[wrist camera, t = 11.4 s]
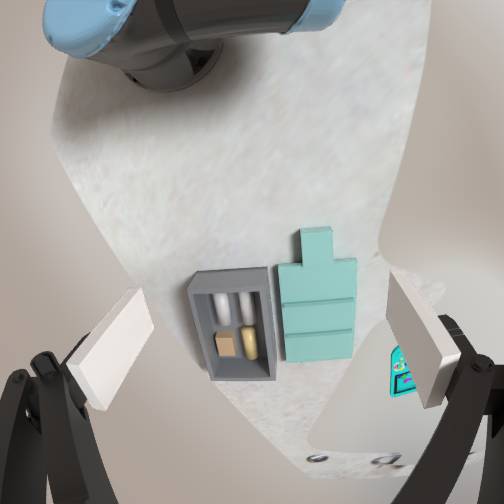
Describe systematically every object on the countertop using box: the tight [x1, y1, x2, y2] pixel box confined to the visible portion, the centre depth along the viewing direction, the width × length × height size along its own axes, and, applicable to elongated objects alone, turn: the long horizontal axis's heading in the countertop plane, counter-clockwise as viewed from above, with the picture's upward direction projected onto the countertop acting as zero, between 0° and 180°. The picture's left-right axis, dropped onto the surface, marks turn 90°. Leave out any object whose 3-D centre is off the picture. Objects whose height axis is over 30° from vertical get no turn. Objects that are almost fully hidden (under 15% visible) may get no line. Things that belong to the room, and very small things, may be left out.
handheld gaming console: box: [390, 345, 417, 397], centre depth 51 cm, size 8×1×15 cm
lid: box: [278, 227, 357, 363], centre depth 47 cm, size 24×12×2 cm, turn 7°
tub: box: [186, 267, 277, 381], centre depth 47 cm, size 18×11×6 cm, turn 7°
